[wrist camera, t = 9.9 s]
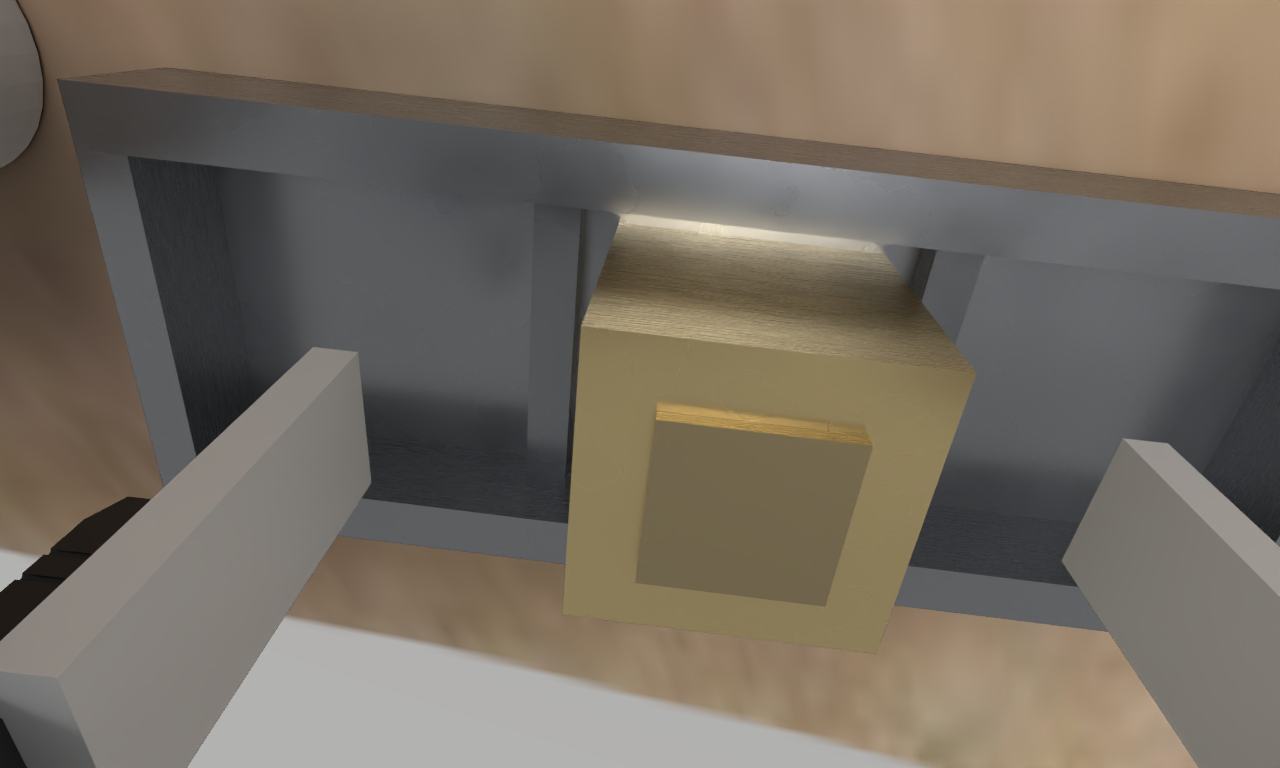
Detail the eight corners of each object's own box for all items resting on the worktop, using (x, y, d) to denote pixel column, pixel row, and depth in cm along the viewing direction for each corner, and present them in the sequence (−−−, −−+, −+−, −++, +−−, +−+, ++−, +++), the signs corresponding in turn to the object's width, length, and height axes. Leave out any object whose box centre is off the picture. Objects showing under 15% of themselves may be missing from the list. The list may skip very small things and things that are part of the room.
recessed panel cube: (599, 445, 19) (559, 626, 13) (618, 222, 16) (577, 334, 11) (825, 473, 19) (879, 666, 13) (883, 253, 16) (983, 382, 10)
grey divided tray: (239, 449, 20) (171, 515, 18) (165, 67, 16) (57, 79, 13) (1176, 564, 20) (1250, 649, 17) (1385, 206, 15) (1532, 247, 13)
